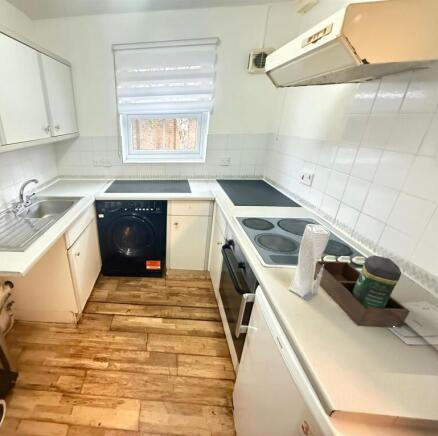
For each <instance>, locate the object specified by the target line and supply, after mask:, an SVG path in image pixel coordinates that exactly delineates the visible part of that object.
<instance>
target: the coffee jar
mask: <svg viewBox="0 0 438 436" xmlns="http://www.w3.org/2000/svg"><path fill="white" fill-rule="evenodd" d="M362 265H363V266H362V268H361V270H360V272H361V273H360V276H359V278H358V280H357V282H356V285H355V287H354V289H353V291H352V293H351V294H352V295H353V296H355V297H356V298H357V299H358V300H359V301H360V302H361V303H362V304H363V305H364V306H365V307H366V308H385V306H386V303H387V301H388V299H389V297H390V296H392V293H393V292H394V289H395V288H396V286H397V284H398V283H399V281H400V279H401V276H402V271H401V268H400V267H399V265H398V264H397V263H395V262H394V261H393V260H392V259H391V258H388V257H385V256H380V255H374V254H373V255H371V256H368V257H367V258H366V259H365V261H364V263H363V264H362Z"/></svg>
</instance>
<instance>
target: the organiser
mask: <svg viewBox="0 0 438 436" xmlns="http://www.w3.org/2000/svg"><path fill="white" fill-rule="evenodd" d="M323 264H324V266H323ZM322 266H323V271H322V278H321V280H320V284H319V287H321V288H322V290H323V291H325V292H326V294H327V295H328V296H330V298H331V299H332V300H333V301H334V302H335V303H336V304H337V305H338V306H339V307H340V309H342V311H343V312H344V313H345V314H346V315H347V316H348V317H349V318H350V319H351V320H352V321H353V323H354V324H355V325H357V327H371V328H373V327H374V328H375V327H376V328H392V327H393V326H395V327H401V328H402V327H403V325H404V323H405V321H406V320H407V317H408V316H409V314H410V312H411V311H410V310H409V309H408V308H407V307H406V306H404V305H403V304H402V303H400V302H399V301H398V300H397V299H396V298H394V297H393V296H392V295H390V297H389V299H388V301H387V303H386V306H385V308H366V307H365V306H364V305H363V304H362V303H361V302H360V301H359V300H358V299H357V298H356V297H355V296H353V295H352V294H351V293H352V291H353V289H354V287H355V285H356V282H357V280H358V278H359V276H360V273H361V271H360V270H358V269H357V268H356V267H355V266H353V265H352V264H350V262H348V261H333V260H331V261H329V260H318V262H317V263H316V266H315V274H314V279H313V280H314V281H316V278H317V274H319V272H320V269H321V268H322Z"/></svg>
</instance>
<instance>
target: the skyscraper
mask: <svg viewBox="0 0 438 436" xmlns="http://www.w3.org/2000/svg"><path fill="white" fill-rule="evenodd" d="M330 236H331V232H330V230H329V228H326V227H324V225H320V224H314V223H313V224H312V223H309V224H306V225H305V228H304V231H303V234H302V238H301V240H300V245H299V251H298V257H297V265H296V268H295V270H294V271H293V275H292V277H291V281H290V283H289V287H288V291H289V292H291V293H292V294H295V295H296V296H298V297H300V298H301V299H303V300H305V301H306V302H309V301H310V300H312V299H313V298H315V296H318V294H319V293H318V291H319V287H320V285H319V284H320V280H321V278H322V271H323V266H324V264H323V266H322V268H321V269H320V272H319V274H317V278H316V280H315V279H314V274H315V266H316V263H317V262H318V261H320V259H321V257H322V256H323V254H324V252H325V250H326V248H327V245H328V243H329V240H330Z"/></svg>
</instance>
